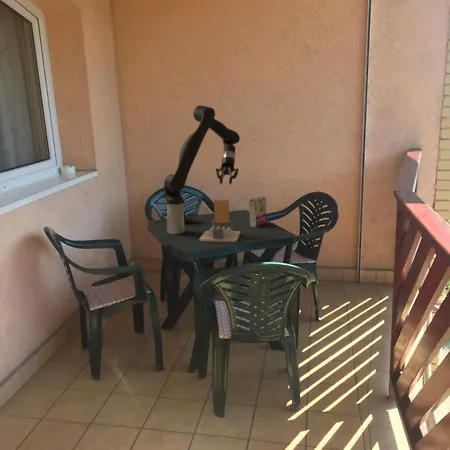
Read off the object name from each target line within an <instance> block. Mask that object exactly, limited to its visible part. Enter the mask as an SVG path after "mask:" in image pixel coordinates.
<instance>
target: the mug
mask: <svg viewBox="0 0 450 450" xmlns="http://www.w3.org/2000/svg"><path fill="white" fill-rule="evenodd" d="M185 203H186V200H185V199H183V210H184V211H185V209H184V207H185ZM188 220H189V219H188V218H187V216H186V213H185V212H184V225H185V224H188V222H189V221H188Z"/></svg>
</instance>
